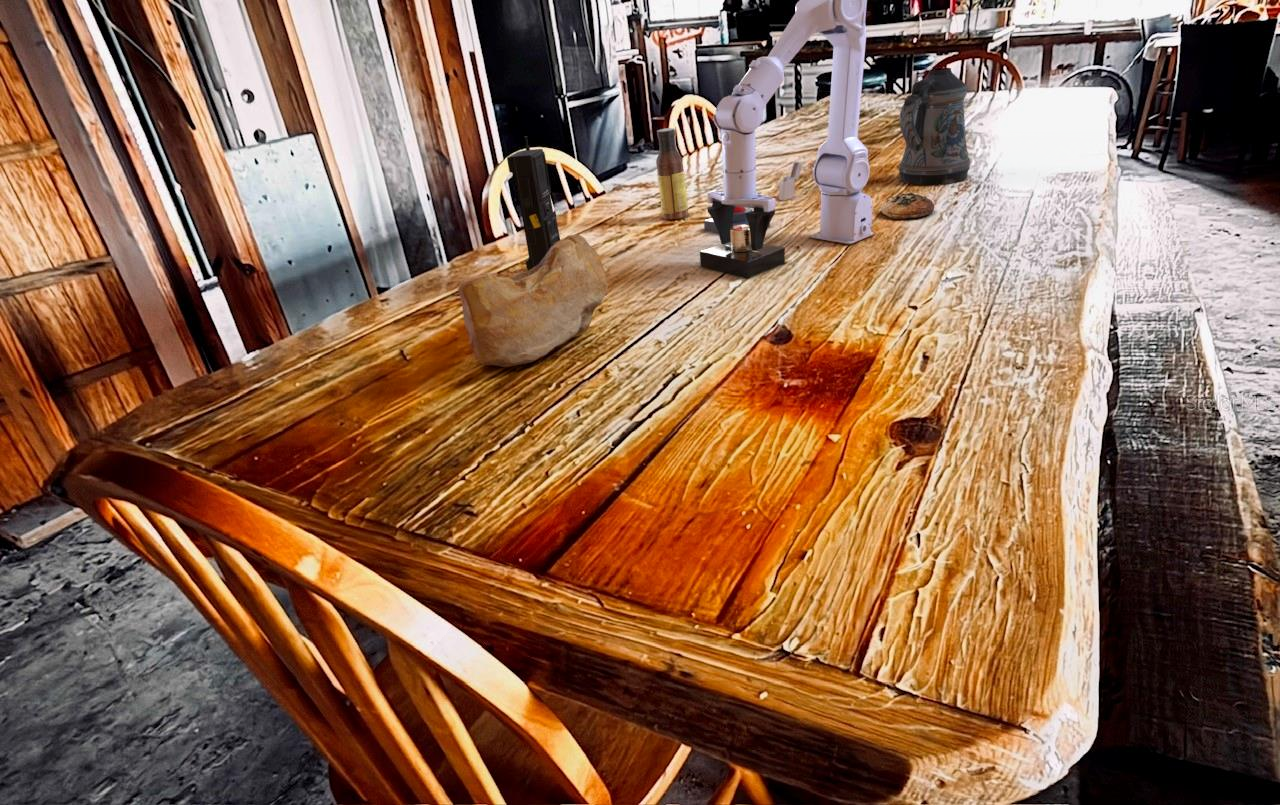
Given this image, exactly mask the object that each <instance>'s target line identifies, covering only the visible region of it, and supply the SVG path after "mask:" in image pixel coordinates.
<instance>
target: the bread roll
mask: <svg viewBox="0 0 1280 805" xmlns="http://www.w3.org/2000/svg"><path fill="white" fill-rule="evenodd" d="M880 210H881V212H882V215H885V216H887V217H888V218H891V219H896V220H906V219H909V218H912V219H913V218H916V219H917V218H920V217H925V216H929V215H931V214H932V213H933V212H934V211H935V203H934V202H933V201H932V200H931V199H930V198H928V197H926V195H920V194H917V193H916V194H915V193H913V192H907V193H901V194H899V195H893V196H891V197H890V198H888V199H886V200H885V201H884V202H883V203H882V205H881V206H880Z"/></svg>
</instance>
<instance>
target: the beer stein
mask: <svg viewBox="0 0 1280 805" xmlns="http://www.w3.org/2000/svg"><path fill="white" fill-rule="evenodd" d="M968 90H969V88H968V86H967V84H966V83H965V82H964V81H962V80H961V78H959V77H958V76H957V75H955V74H954V73H953V72H952V68H951V67H940V68H939V67H938V68H932V69H930V70H929V72H928V74H927V75H926V77H924V78H923V79H920V80H919V81H916V82H915V83H914V84H913V85H912V87H911V94H910V95H908V96H907V97H906V98H905V100H904V101H903V105H902V106H901V108H900V112H899V129H900V133H901V135H902V138H903V140H904V141H905V147H904V152H903V156H902V158H901V160H900V162H899V164H898V173H899V180H900V181H901V182H902V183H906V184H911V185H918V186H920V185H921V186H936V185H948V184H955V183H958V182H962V181H964V180H966V179H967V177H968V173H969V170H970V167H971V160H970V156H969V152H968V145H967V137H966V123H965V98H966V97H967V93H968Z"/></svg>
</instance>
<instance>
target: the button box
mask: <svg viewBox="0 0 1280 805" xmlns="http://www.w3.org/2000/svg"><path fill="white" fill-rule="evenodd" d="M750 211H753V208H746V207H745V211H744V212H740V213H734V214H733V221H732V227H733V226H736V225H749V224H748V221H747V218H746V216H745V213H747V212H750ZM703 227H704V228H703V229H704V231H705V232H712V233H717V234H718V230H717V228H716V225H715V223H714V221H713V219H712V217H710V218H708V219H704V220H703ZM770 227H771V222H770V223H769V226H768V228H767V229H769V228H770Z"/></svg>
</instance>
